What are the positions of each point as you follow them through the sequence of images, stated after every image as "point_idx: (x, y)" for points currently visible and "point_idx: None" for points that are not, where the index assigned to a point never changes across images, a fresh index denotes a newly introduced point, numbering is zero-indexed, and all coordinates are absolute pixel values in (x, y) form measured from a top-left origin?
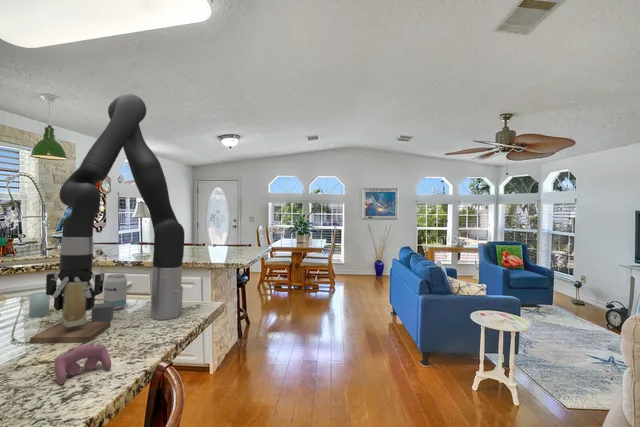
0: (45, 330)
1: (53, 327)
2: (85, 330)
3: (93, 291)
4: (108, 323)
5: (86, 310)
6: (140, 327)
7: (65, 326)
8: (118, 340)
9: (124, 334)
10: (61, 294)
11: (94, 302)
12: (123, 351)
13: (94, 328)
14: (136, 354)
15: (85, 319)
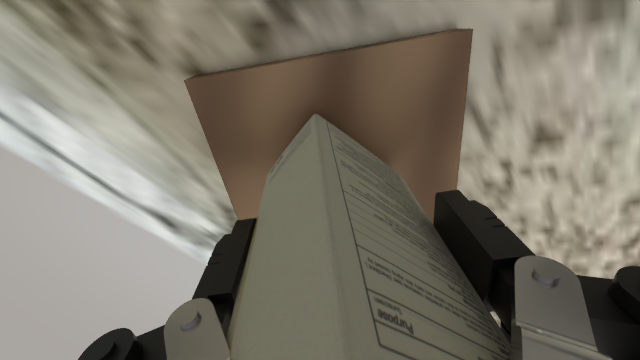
0: (232, 193)
1: (230, 157)
2: (402, 174)
3: (572, 315)
4: (468, 58)
5: (436, 227)
6: (633, 18)
7: (274, 139)
8: (545, 189)
9: (558, 130)
10: (226, 330)
11: (501, 222)
12: (577, 257)
13: (431, 148)
14: (617, 268)
15: (410, 191)
